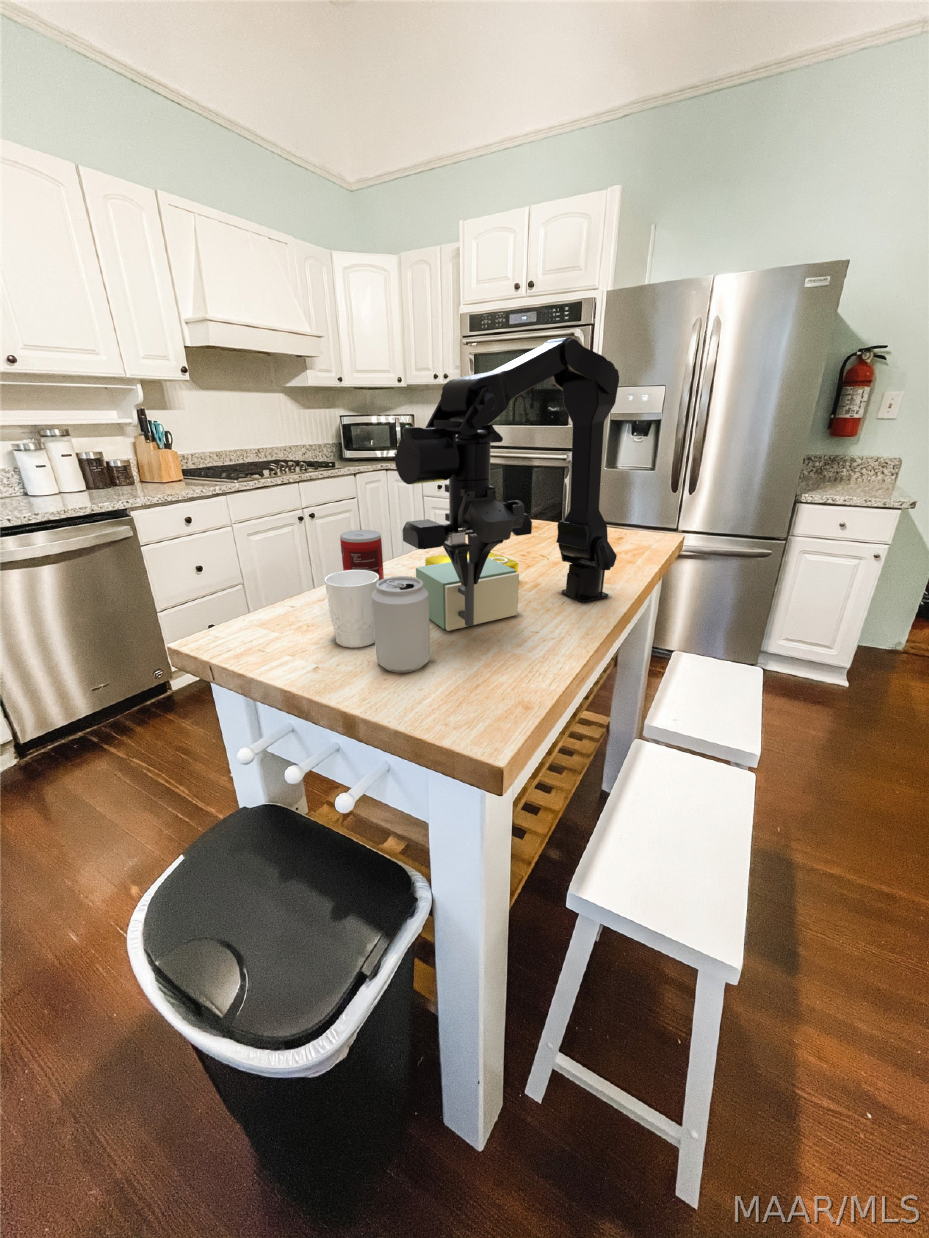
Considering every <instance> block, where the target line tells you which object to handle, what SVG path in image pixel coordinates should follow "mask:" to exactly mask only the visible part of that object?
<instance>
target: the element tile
mask: <svg viewBox="0 0 929 1238" xmlns="http://www.w3.org/2000/svg"><path fill="white" fill-rule="evenodd" d="M488 558H490V559H492V560H494V561H497V562H499V563H501V564H503V565H506V566H508V567H510V568H513V569H515V570H516V573H519V562H518V561H517V560H514V559H512V558H508V557H505V556H502V555H500V554H497V553H496V552H495V553H494V552H492V551H490V553H489V555H488ZM467 559H469V551H468V553H467ZM446 562H451V560H450V558H449V556H448V554H447V553H443V554H437V555H430V556H427V557H426V558H425V559H424V566H428V565H434V564H440V563H446Z"/></svg>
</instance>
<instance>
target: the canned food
mask: <svg viewBox="0 0 929 1238" xmlns="http://www.w3.org/2000/svg"><path fill="white" fill-rule="evenodd" d="M339 537H340V538H339V541H340V552H341V562H342V571H346V570H367V571H372V572H375V573H377V574H378V575H379V581H380V580H382V579H385V577H384V576H385V575H384V573H385V572H384V557H383V543H382V534H381V532H380V531H376V530H372V529H353V530H347V531H344V532H342V533H341V534H340V535H339Z"/></svg>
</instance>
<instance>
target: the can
mask: <svg viewBox="0 0 929 1238" xmlns="http://www.w3.org/2000/svg"><path fill="white" fill-rule="evenodd" d="M376 588H377V589H376V590H375V591H374V592H373V594H372V606H373V619H374V632H375V642H374V643H375V656H376V661H377V664H378V665H380V666H381V667H382V668H384V669H385V670H387V671H389V672H392V673H397V674H400V673H401V674H406V673H412V672H415V671H418V670H420V669H421V668H423V667H424V666H425V665H426V664H427V663H428V662H429V661H430V660H431V636H430V635H431V633H430V632H431V631H430V619H429V597H428V592H427V590H426V589H425V588H424V587H423V582H422V580H420V579H418V578H416V576H408V575H397V576H389V577H384V579H382V580H380V581H378V582H377V583H376Z"/></svg>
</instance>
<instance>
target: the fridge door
mask: <svg viewBox="0 0 929 1238" xmlns="http://www.w3.org/2000/svg"><path fill="white" fill-rule="evenodd" d="M467 563H468V581H467V586H465V587H464V586H463V585H461V583H458V584H452V585H447V586H445V618H446V629H445V631H448V632H450V631H455V630H458V629H459V630H460V629H463V628H467V627H472V626H476V625H480V624H483V623H487V622H492V621H497V620H501V619H505V618H509V617H514V616H517V615H518V613H519V612H518V611H519V606H518V605H519V590H520V589H519V588H520V587H519V585H520V572H518V573H511V574H506V575H500V576H495V577H490V578H484V579H479V581H478V583H477V584H476V585H474V562H471V561H467Z"/></svg>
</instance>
